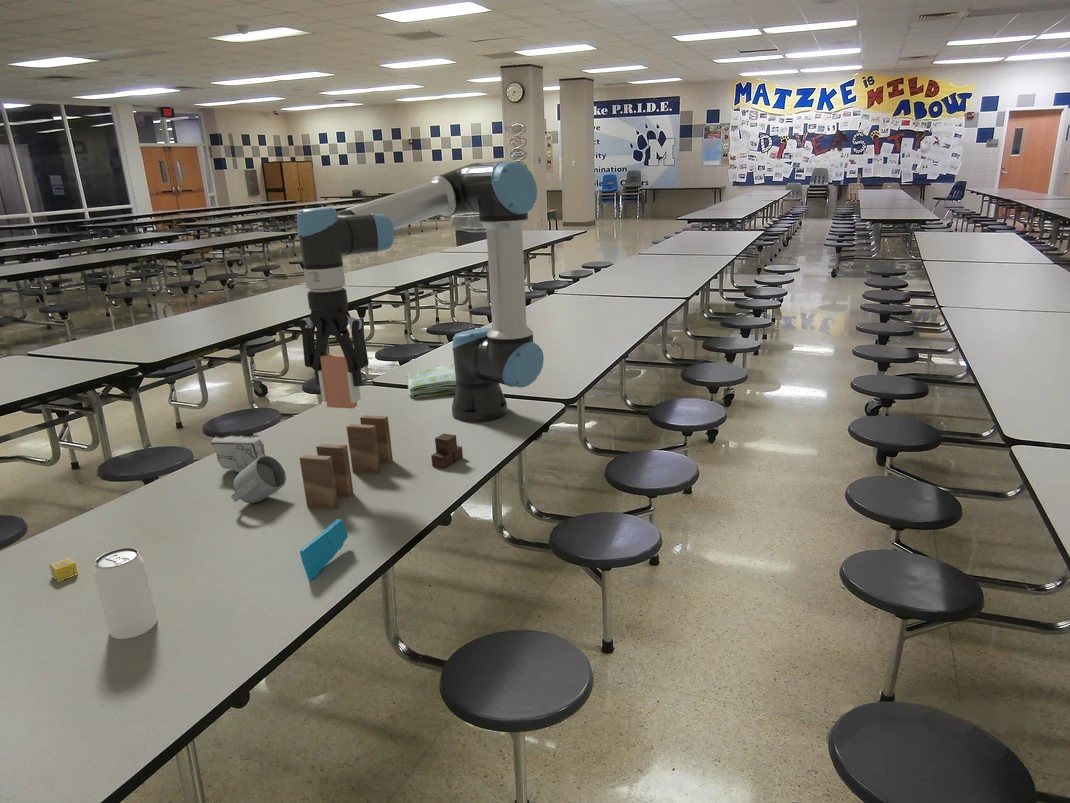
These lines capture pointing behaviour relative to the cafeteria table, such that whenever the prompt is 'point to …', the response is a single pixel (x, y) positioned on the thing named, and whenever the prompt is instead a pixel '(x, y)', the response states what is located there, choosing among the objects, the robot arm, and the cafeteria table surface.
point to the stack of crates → (446, 451)
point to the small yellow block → (63, 569)
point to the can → (125, 593)
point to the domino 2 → (336, 381)
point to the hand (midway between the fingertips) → (341, 399)
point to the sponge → (323, 548)
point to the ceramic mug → (259, 480)
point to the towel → (432, 382)
